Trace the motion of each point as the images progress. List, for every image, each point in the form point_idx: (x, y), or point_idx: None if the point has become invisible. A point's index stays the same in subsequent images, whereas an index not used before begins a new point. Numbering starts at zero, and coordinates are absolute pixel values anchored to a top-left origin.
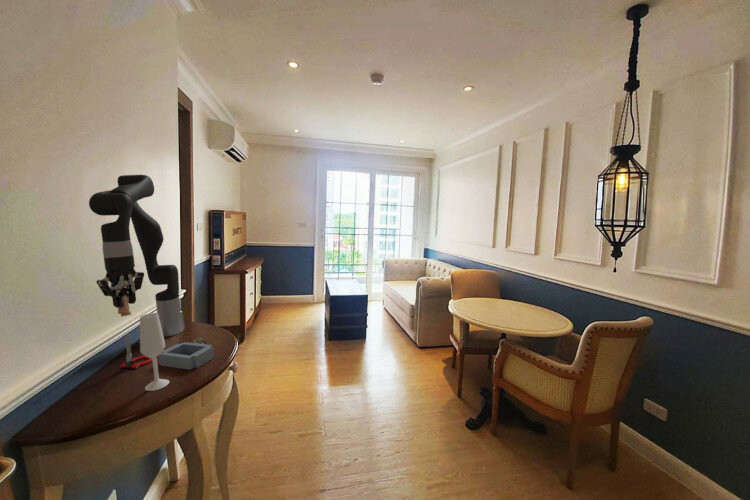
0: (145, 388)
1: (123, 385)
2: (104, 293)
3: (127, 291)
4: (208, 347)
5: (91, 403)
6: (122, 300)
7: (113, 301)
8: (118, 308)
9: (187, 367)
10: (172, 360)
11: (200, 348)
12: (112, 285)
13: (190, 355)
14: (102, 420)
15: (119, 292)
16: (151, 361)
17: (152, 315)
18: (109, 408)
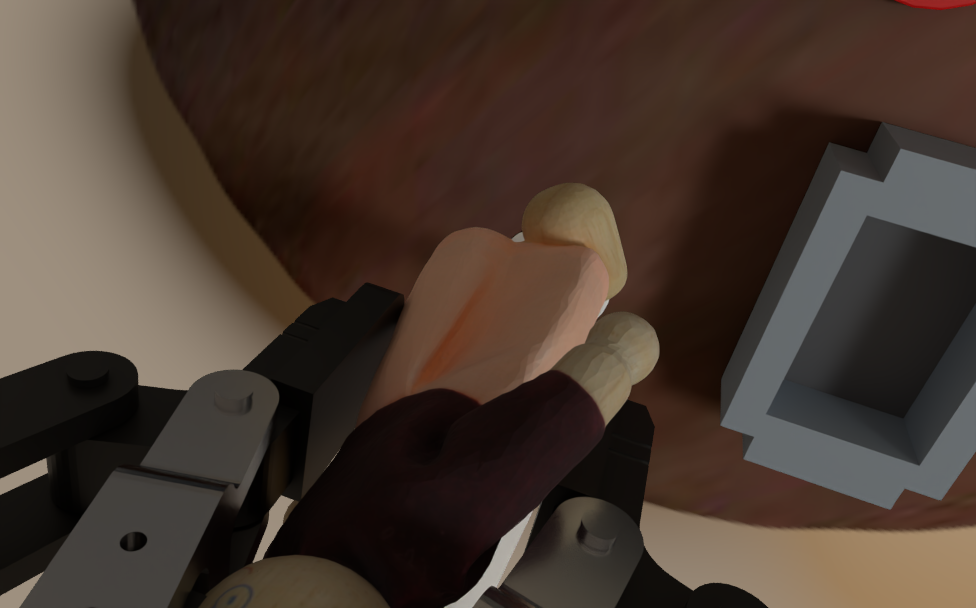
0: (514, 239)
1: (556, 69)
2: (15, 403)
3: (556, 509)
4: (895, 486)
5: (373, 31)
6: (290, 505)
7: (273, 354)
8: (410, 294)
9: (729, 367)
10: (780, 277)
11: (942, 409)
12: (99, 565)
13: (763, 418)
14: (272, 214)
15: (234, 562)
16: (936, 7)
17: (463, 604)
18: (346, 175)
